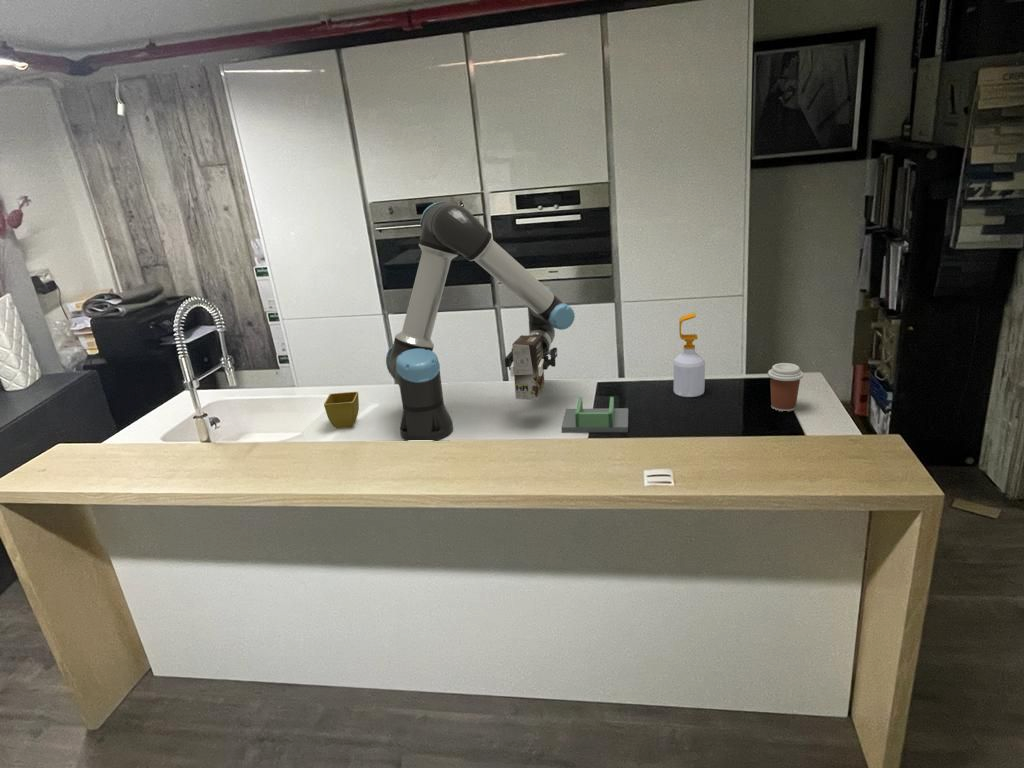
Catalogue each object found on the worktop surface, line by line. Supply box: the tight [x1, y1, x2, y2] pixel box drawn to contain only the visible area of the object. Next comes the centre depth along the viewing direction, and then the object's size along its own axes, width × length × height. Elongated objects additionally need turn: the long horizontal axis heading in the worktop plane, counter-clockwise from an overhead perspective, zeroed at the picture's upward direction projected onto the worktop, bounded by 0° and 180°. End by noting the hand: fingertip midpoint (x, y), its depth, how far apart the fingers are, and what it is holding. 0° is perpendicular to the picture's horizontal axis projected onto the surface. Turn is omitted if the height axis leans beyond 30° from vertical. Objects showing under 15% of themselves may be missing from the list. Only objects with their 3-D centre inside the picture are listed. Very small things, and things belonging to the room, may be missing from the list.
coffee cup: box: [767, 362, 804, 412], centre depth 188 cm, size 9×9×12 cm
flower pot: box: [323, 391, 360, 429], centre depth 203 cm, size 9×9×9 cm
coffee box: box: [511, 334, 546, 401], centre depth 188 cm, size 9×6×16 cm
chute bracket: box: [561, 396, 629, 433], centre depth 190 cm, size 18×13×6 cm
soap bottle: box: [673, 312, 706, 398], centre depth 202 cm, size 9×9×25 cm
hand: (525, 371), depth 184 cm, fingers closed on coffee box, 7 cm apart
